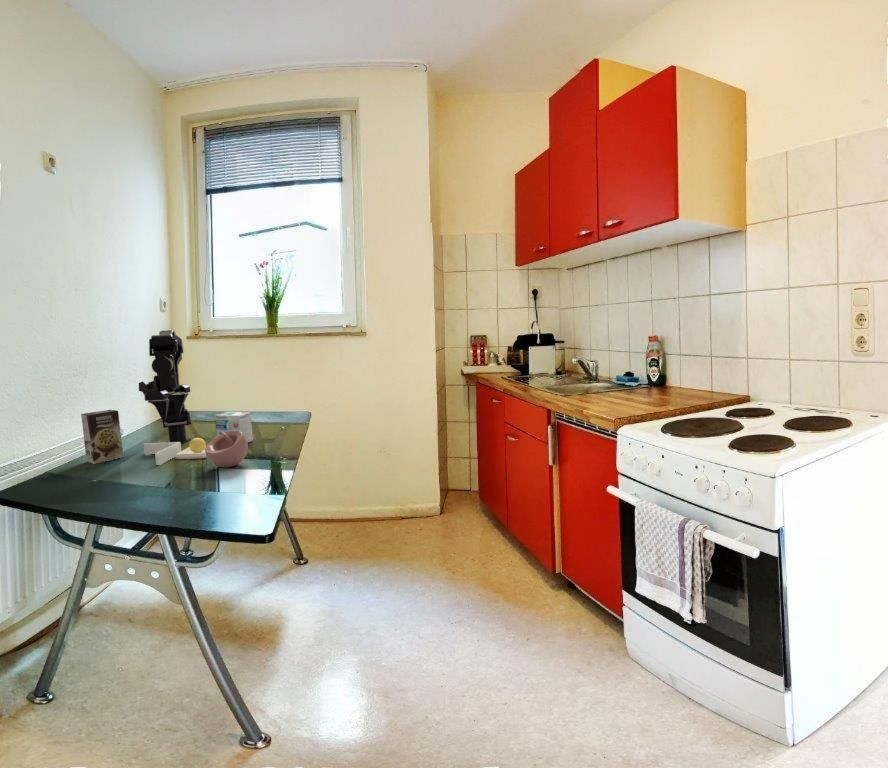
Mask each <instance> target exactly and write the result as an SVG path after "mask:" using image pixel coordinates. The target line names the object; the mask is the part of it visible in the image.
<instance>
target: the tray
mask: <svg viewBox="0 0 888 768" xmlns="http://www.w3.org/2000/svg"><path fill="white" fill-rule="evenodd" d="M206 447H207V445H206ZM206 447H205V449H206ZM205 449H204V450H203V451H202V452H200V453H194V452H192V451H191V450H190V448H189V447H187V448H185V449H182V450H181V452H179V453H177V454H175V457H174V458H175V460H189V459H190V460H191V459H192V460H193V459H195V460H196V459H208V458H207V456H206V453H205Z"/></svg>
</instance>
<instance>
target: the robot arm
mask: <svg viewBox="0 0 888 768" xmlns="http://www.w3.org/2000/svg"><path fill="white" fill-rule="evenodd" d="M150 336H151V337H150V338H149V339H148V340H149V341H148V342H149V344H148V349H149V352H148V353H149V357H154V359H153V361H152V363H151V369H152V371H153V372H154V373H156V375H154V376H153V380H151V381H149V382H147V381H146V380H144V381H141V382H139V383H138V391H139V392H140V393H142V394H143V396H144V401H145V402H147V403H149V404H152V405H153V406H154V407H155V409H156V411H157V413H158V415H159V417H160V418H161V420H162V426H163V428H164V429H165V428H167V431H168V438H169V439H168V441H167V442H180V443H181V444H183V443H186V442H189V441H191V440H192V438H191V437H187V428H186V426H189V425H192V418H191V413H190V411H189V410H188V408H186V405H185V402H186V399H187V397H188V396H189V394H190V393H191V387H190V386H189V384H180V377H179V376H180V373H179V364H180V363H181V362H182V360H183V354H184V345H183V340H182V338H180V336H178V335H177V334H176V331H175V330H171V329H170V330H161V331H159V333H158V334H157V335H150Z"/></svg>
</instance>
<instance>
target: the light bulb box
mask: <svg viewBox="0 0 888 768" xmlns="http://www.w3.org/2000/svg"><path fill="white" fill-rule="evenodd" d="M214 419H215V428H216V430H215V431H216V437H217V436H219V435H221V434H219V431H222V432H224V433H225V432H228V431H233V430H237V431H238V430H239V431H240V432H242V433H243V435H244V436H245V437H246V439H247V443H248V444H249V443H250V442H253V441H254V438H253V428H252V427H253V426H252V415H251V411H249V412H248V411H245V412H244V411H225V412H221V413H217V414H215V415H214Z"/></svg>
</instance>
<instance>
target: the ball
mask: <svg viewBox="0 0 888 768" xmlns="http://www.w3.org/2000/svg"><path fill="white" fill-rule="evenodd" d="M206 446H207V444H206V441H205V440H204V439H203V438H200V437H195V438H192V439H191V440H190V442H189V445H188V448H190V450H191V451H192V452H194V453H200V452H202V451H203V450H204V449H205V447H206Z"/></svg>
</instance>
